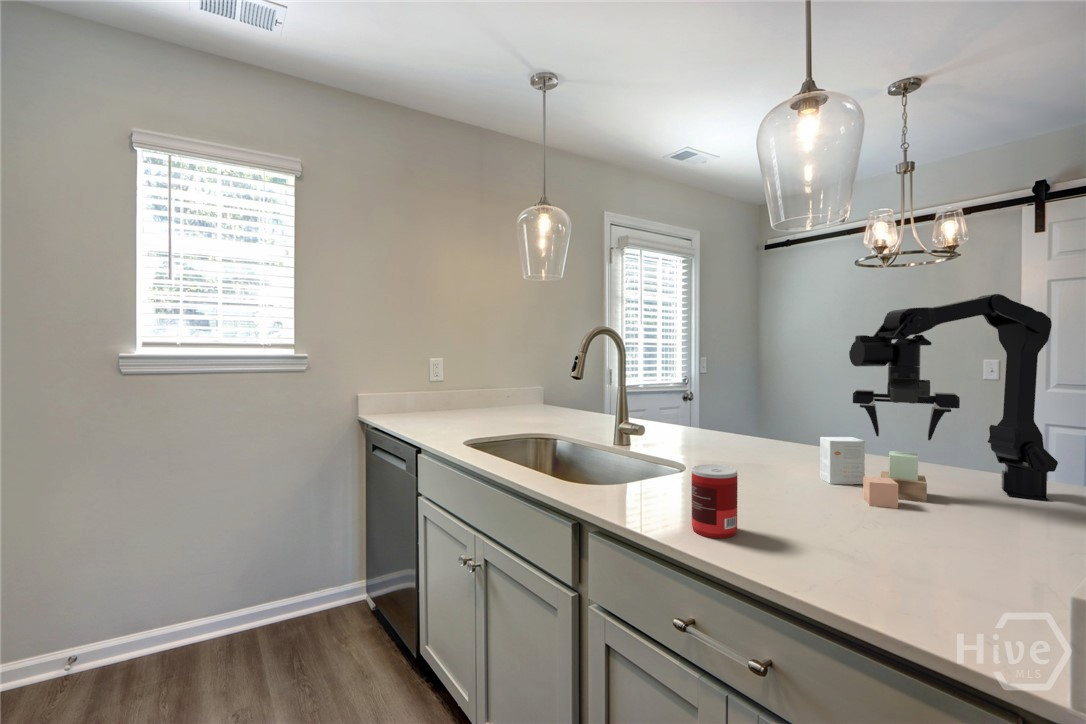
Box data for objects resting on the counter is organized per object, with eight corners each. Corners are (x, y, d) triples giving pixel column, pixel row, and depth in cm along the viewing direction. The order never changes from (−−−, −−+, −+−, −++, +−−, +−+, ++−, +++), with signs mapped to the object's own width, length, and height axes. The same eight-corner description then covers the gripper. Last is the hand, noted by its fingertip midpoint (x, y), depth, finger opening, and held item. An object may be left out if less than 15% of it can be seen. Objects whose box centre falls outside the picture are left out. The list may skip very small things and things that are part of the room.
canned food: (736, 526, 93) (736, 465, 93) (737, 541, 86) (738, 476, 86) (692, 521, 96) (692, 462, 96) (690, 536, 88) (690, 472, 88)
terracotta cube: (890, 501, 108) (890, 478, 108) (898, 508, 103) (898, 484, 103) (863, 499, 110) (863, 476, 110) (869, 506, 105) (869, 482, 105)
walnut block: (924, 493, 114) (924, 475, 113) (926, 502, 107) (926, 483, 107) (881, 488, 118) (881, 471, 118) (880, 496, 111) (880, 478, 111)
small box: (853, 479, 127) (853, 436, 126) (865, 485, 121) (865, 440, 121) (819, 478, 127) (819, 436, 127) (829, 484, 122) (829, 440, 122)
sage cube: (916, 476, 113) (916, 453, 113) (917, 481, 109) (918, 457, 109) (889, 473, 116) (889, 451, 116) (889, 477, 112) (889, 455, 112)
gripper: (851, 366, 110) (850, 439, 111) (963, 368, 100) (961, 448, 100) (854, 365, 120) (853, 432, 120) (957, 367, 109) (956, 440, 109)
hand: (902, 438), depth 112 cm, fingers open, 9 cm apart
